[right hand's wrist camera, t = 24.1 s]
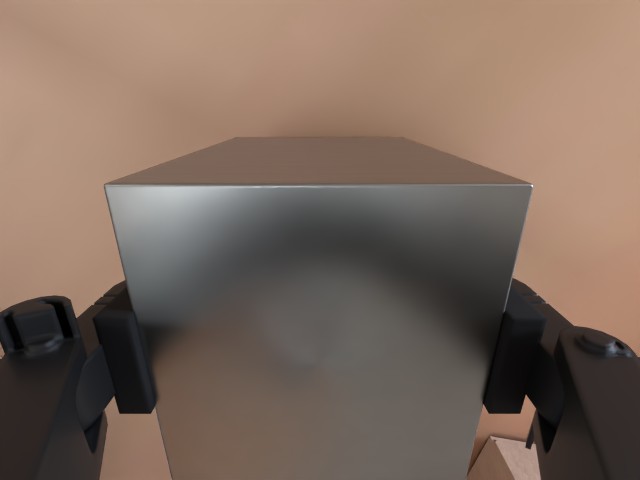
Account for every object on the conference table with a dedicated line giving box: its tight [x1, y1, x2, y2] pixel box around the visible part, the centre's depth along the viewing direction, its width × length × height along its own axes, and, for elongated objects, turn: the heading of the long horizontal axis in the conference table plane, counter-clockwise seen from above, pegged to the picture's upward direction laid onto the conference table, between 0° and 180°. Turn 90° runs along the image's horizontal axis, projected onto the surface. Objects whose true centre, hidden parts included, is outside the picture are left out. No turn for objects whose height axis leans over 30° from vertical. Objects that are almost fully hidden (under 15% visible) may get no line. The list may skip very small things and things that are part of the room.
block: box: [104, 137, 533, 480], centre depth 13 cm, size 8×8×11 cm
